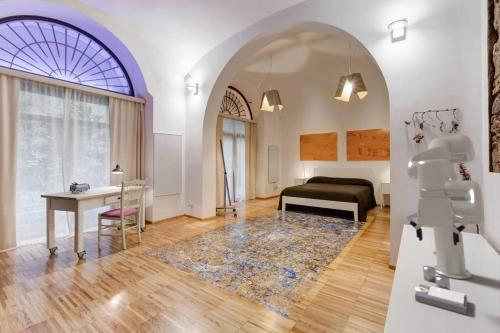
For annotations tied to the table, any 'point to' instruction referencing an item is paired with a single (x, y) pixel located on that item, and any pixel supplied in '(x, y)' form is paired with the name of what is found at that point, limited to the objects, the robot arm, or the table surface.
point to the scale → (442, 298)
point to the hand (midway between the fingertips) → (437, 241)
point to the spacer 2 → (442, 282)
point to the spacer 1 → (429, 273)
